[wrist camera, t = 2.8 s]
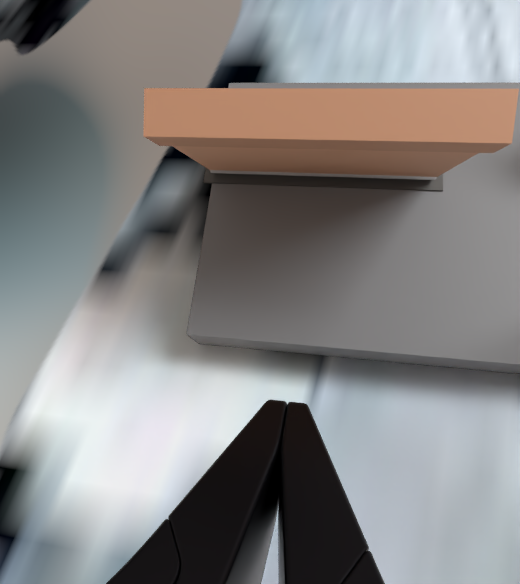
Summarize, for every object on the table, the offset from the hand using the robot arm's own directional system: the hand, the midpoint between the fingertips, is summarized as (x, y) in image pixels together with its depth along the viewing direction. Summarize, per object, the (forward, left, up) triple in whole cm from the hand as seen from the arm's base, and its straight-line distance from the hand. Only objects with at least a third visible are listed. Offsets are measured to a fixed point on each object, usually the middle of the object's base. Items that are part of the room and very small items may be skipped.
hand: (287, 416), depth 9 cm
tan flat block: (+14, 0, -10) cm, 17 cm away
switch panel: (+12, -5, -13) cm, 18 cm away
